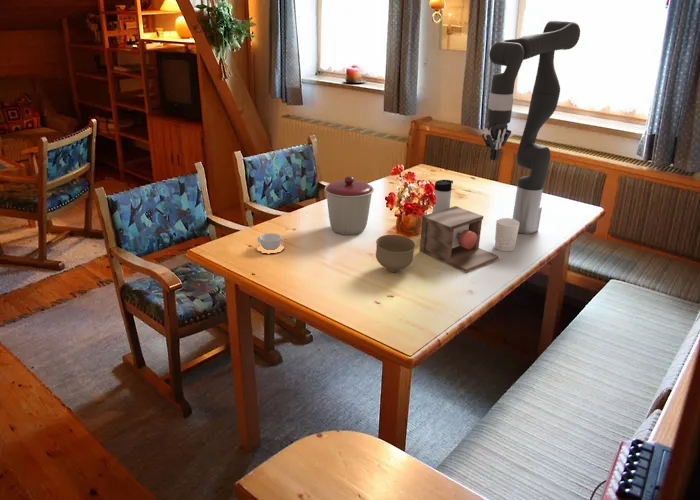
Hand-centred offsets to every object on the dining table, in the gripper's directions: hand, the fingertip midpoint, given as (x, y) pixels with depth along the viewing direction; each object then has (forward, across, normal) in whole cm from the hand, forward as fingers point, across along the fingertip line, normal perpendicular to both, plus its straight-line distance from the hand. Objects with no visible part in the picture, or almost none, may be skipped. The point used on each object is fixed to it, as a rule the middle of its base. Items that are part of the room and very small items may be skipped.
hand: (493, 159), depth 195 cm
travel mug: (+32, +1, -20) cm, 38 cm away
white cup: (+32, -6, +5) cm, 33 cm away
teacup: (+32, +62, -44) cm, 82 cm away
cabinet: (+32, +13, 0) cm, 34 cm away
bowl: (+32, +38, -6) cm, 50 cm away
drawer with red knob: (+29, +13, -2) cm, 32 cm away
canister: (+32, +29, -41) cm, 60 cm away
